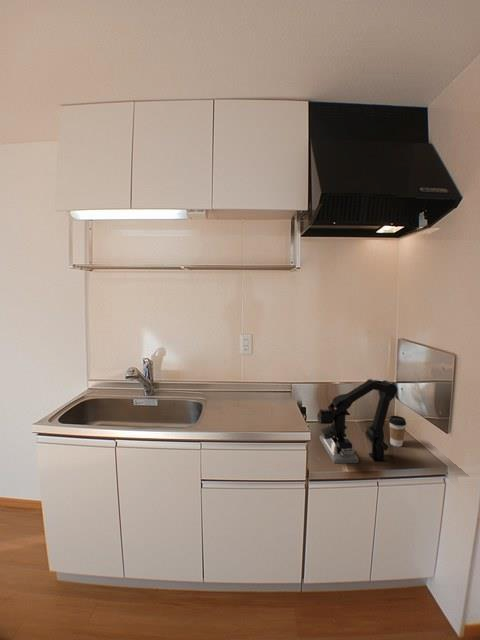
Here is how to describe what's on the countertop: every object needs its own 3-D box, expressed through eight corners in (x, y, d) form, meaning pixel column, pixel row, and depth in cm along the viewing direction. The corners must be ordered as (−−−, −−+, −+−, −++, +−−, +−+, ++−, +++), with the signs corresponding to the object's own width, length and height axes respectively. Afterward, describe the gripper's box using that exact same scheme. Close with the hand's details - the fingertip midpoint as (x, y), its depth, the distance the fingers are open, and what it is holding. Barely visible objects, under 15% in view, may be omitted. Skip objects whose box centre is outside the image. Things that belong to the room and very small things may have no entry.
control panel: (358, 462, 148) (358, 456, 148) (334, 463, 148) (334, 456, 147) (340, 438, 172) (340, 432, 172) (319, 438, 172) (319, 433, 171)
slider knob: (339, 453, 153) (340, 446, 152) (334, 453, 152) (334, 446, 152) (337, 449, 157) (337, 442, 156) (331, 449, 156) (331, 442, 156)
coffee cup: (387, 445, 164) (388, 419, 163) (387, 438, 172) (389, 413, 170) (404, 449, 160) (406, 422, 159) (404, 442, 168) (406, 416, 166)
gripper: (317, 415, 158) (316, 443, 160) (329, 432, 140) (328, 464, 141) (338, 414, 159) (337, 443, 160) (353, 431, 140) (351, 463, 142)
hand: (338, 452), depth 151 cm, fingers closed
